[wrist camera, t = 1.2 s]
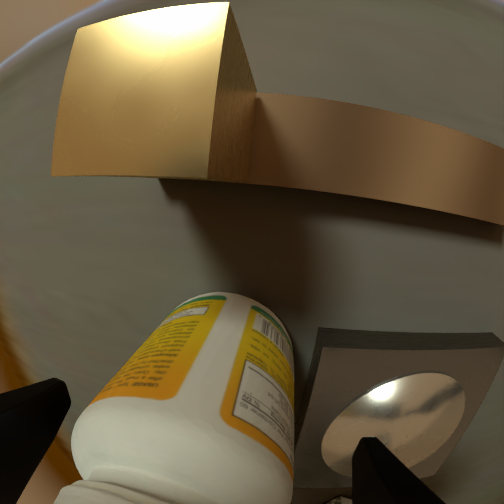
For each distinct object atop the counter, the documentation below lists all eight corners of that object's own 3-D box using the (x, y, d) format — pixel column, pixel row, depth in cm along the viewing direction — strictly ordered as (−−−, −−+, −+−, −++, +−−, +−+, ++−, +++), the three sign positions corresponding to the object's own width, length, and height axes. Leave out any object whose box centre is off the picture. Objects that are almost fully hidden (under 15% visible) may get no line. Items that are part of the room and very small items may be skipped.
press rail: (502, 155, 9) (516, 154, 8) (497, 224, 9) (511, 227, 8) (165, 100, 10) (155, 93, 9) (157, 178, 10) (145, 177, 9)
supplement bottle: (312, 312, 11) (353, 586, 2) (268, 412, 12) (242, 611, 3) (175, 268, 11) (-32, 447, 2) (155, 375, 12) (47, 542, 3)
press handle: (256, 90, 8) (229, 1, 3) (248, 183, 9) (206, 178, 4) (166, 90, 9) (77, 28, 4) (156, 177, 9) (50, 176, 4)
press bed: (491, 332, 10) (509, 347, 9) (426, 458, 12) (434, 476, 11) (318, 327, 11) (323, 348, 9) (283, 466, 13) (282, 488, 11)
